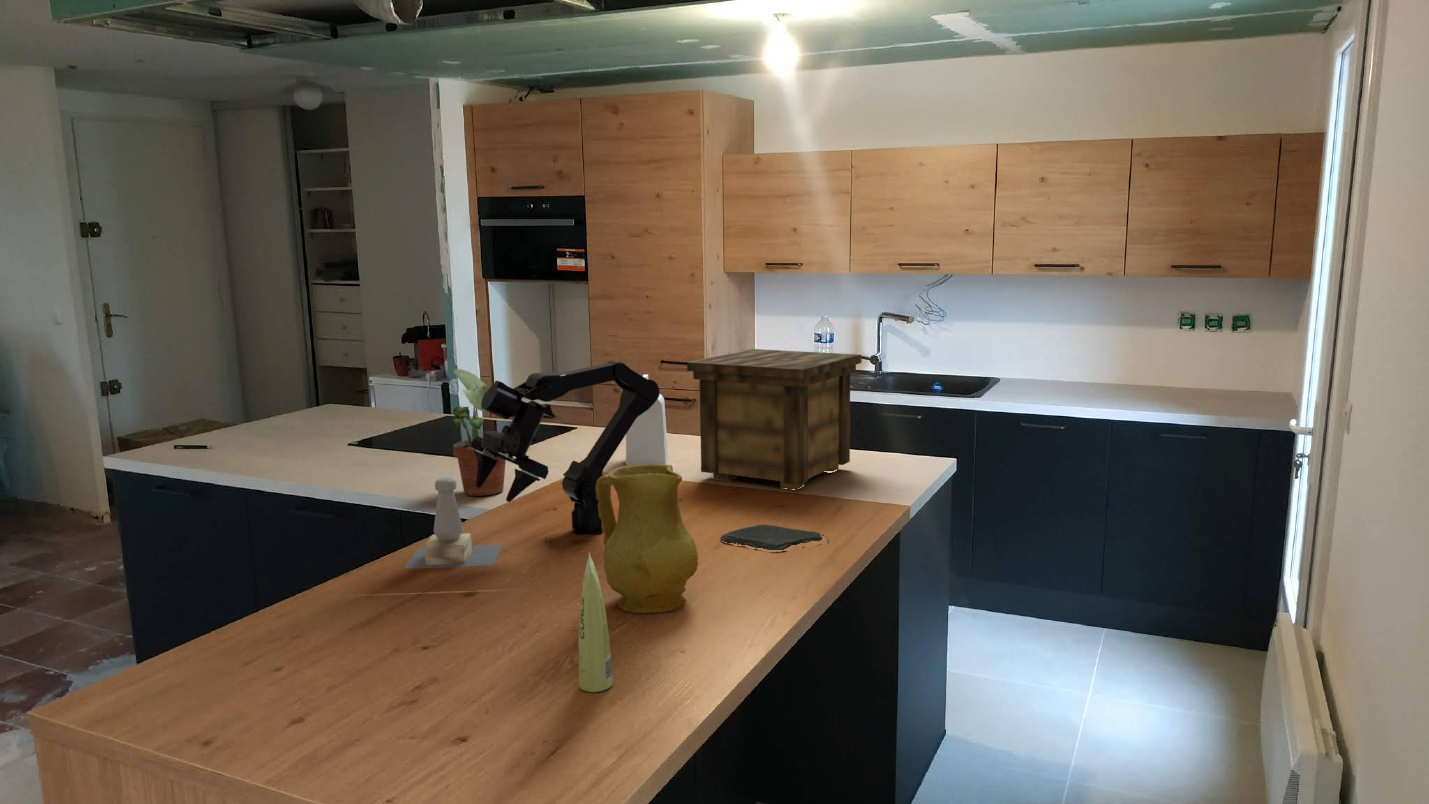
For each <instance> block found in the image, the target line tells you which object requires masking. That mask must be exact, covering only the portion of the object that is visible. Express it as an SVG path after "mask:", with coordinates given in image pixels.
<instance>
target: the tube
mask: <svg viewBox="0 0 1429 804" xmlns="http://www.w3.org/2000/svg"><path fill="white" fill-rule="evenodd" d="M600 583H601V582H600V579H599V576H598V572H597V568H596V566H595V563H594V561H593V558H592V557H591V553H590V552H588V558H587V561H586V565H585V569H584V574H583V580H582V589H581V591H582V592H581V597H580V598H581V600H580V610H579V618H578V619H579V621H578V622H579V624H578V625H579V626H578V684H579V685H578V686H579V688H580V689H581V690H583V691H585V692H589V693H599V692H604V691H606V690H608V689H610V688H611V687H612V686H613V672H612V670H613V669H612V659H611V658H612V657H611V656H612V655H611V645H610V635H609V627H608V626H609V625H608V620H607V614H606V607H605V602H604V597H603V594H602V589H601V584H600Z"/></svg>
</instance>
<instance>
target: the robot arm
mask: <svg viewBox="0 0 1429 804" xmlns="http://www.w3.org/2000/svg"><path fill="white" fill-rule="evenodd" d="M525 380H526V381H525V382H524V381H523V382H522V383H521V384H519V385H517V386H515V387H514V388H512V387H510V386H508V385H506V384H505V383H504V382H502V381H500V380H495V381H494V383H493V384H492V385H490V387H489V388H488V389H487V390H486V392H485V394H484V396H483V398H482V402H481V407H482V409H484V410H486V411H485V412H488V413H490V414H493V415H494V416H497V417H499V418H502V419H504V420H508V419H510V418H512V419H511V421H510V423H509V425H506V424H505V425H504V426H503V427H502V430H501V431H498V430H496V431H495V430H494V431H484V432H483V436H482V437H480V436H479V437H476V438H474V439H473V441H472V443H471V445H470V447H472V448H474V449H476V450H475V451H474V450H473V453H475V455H476V457H477V460H478V470H477V480H476V487H478V488H480V487H481V486H482V485H483V484H484V482H485V481H486V479H487V478H488V476H489V474H490V473H491V471H492V470H493V468H494V467H495V465H496V464H497V462H498V461H497V460H495V459H493V457H495V458H496V457H500V458H502V459H505V460H506V461H507V462H509V463H512V464H514V465H517V466H518V468H519V469H520V470H519V469H517V468H514V479H513V481H512V484H511V486H510V488H509V491H508V493H507V496H506V500H505V501H506V502H509V503H510V502H512V501H513V500H514V499H515V498H516V497H517V496H519V495H520V494H521V493H522V492H523V491H525V489H527V488H529V487H530V486H531V485H532V484H534V483H535V482H540V481H541V479H543V480H546V479H547V476H549V467H548V465H545V464H544V463H542V462H538V461H536V460H535V459H531V458H530V455H527V452H528V450H529V449H530V446H531V444H532V443H533V444H535V443H536V442H537V440H538V438H536V437H535V435H536V433H537V431H538V429H539V427H540V425H541V422H542V420H543V417H544V416H547V417H550V418H553V417H554V416H555V414H554V412H553V410H552V407H551V406H552V405H551V404H549V403H546V402H552V401H555V400H557V399H559V398H561V397H564V395H566V394H568V393H569V392H571V391H574V390H577V389H581V388H586V387H591V386H596V385H599V384H603V383H609V382H612V381H613V382H614V383H615V384H616V386H618V387H619V388H620V389H622V391H621V393H620V398H619V405H618V408H617V410H616V411H615V413H614V414H613V416H612V417H611V419H610V420H609V422H607V425H606V426H605V428H604V429H603V431H602V433H600V435H599V437H598V438H597V440H596V441H595V443H594V445H593V446H592V448H591V449H590V450H589V452H588V454H587V456H586V457H585V458H584V459H583V460H581V461H579V462H578V461H575V460H572V461H571V463H570V464H569V467H568V469H567V470H566V471H565V472H564V473H563V474H562V476H564V477H563V479H562V481H561V486H562V489H563V492H564V494H566V496H568V498H569V500H570V502H573V503H574V504H573V509H572V510H571V528H572V530H573V534H574V535H578V534H579V535H581V534H583V535H584V534H602V533H603V534H604V532H603V530H602V525H601V523H602V519H600V518H599V512H598V503H599V502H598V500H597V498H596V482H597V480H598V479H599V478H600V477H602V476H604V469H605V467H606V466H607V464H608V463H609V462H610V460H611V458H612V457H613V455H614V454H615V452H616V451H617V449H618V447H619V446H620V445H621V443H622V441H623V440H624V438H626V434H627V432H628V430H629V429H630V427H631V426H632V424H633V423H634V421H635V420H636V418H637V417H638V416H640V415H641V414H643V413H644V412H646V411H647V410H648V409H649V408H650V407H651V406H652V405H653V404H654V403H655V402H656V401H657V399H658V397H659V395H660V394H661V392H660V387H659V385H658V383H657V382H656V381H655V380H652V379H649V378H648V379H646V378H644V377H643V375H641V374H639V373H638V372H637V371H635V370H634V369H631V368H630V367H629V366H628V365H627V364H625V362H621V361H615V360H610V361H608V362H605V363H602V364H597V365H592V366H588V367H583V368H579V369H575V370H574V369H573V370H570V371H565V372H534V373H531V374H529V375H528V376H527V379H525ZM522 399H526V400H529V401H528V402H526V401H524V400H522ZM537 400H538V401H541V402H545V403H544V404H541V403H539V402H537ZM505 453H507V455H505ZM505 456H506V457H505Z"/></svg>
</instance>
